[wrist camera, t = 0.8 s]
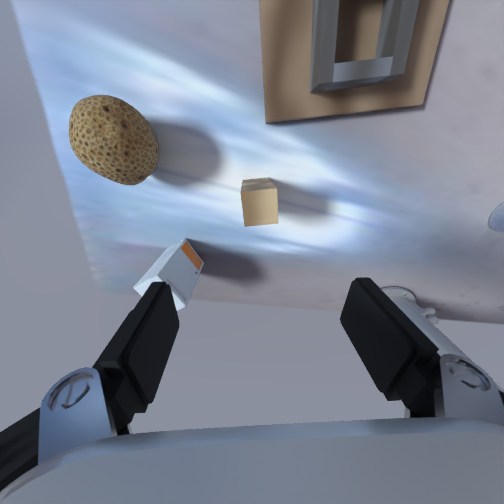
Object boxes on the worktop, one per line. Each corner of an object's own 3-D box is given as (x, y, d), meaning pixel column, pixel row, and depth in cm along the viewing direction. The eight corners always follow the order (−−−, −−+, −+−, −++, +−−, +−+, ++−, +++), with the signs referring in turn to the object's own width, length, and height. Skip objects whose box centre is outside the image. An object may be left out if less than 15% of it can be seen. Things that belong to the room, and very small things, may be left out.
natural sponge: (171, 186, 30) (138, 200, 21) (110, 171, 29) (49, 180, 20) (174, 117, 26) (135, 99, 17) (104, 97, 25) (23, 67, 16)
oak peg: (268, 177, 29) (277, 188, 21) (269, 203, 31) (278, 223, 22) (242, 180, 30) (240, 192, 21) (245, 205, 31) (244, 226, 23)
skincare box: (205, 262, 36) (187, 307, 26) (187, 271, 37) (163, 318, 27) (185, 236, 34) (157, 274, 23) (166, 247, 35) (131, 288, 24)
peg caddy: (454, -65, 19) (516, -130, 15) (413, 106, 26) (448, 97, 21) (257, -38, 20) (259, -93, 15) (265, 123, 26) (269, 117, 22)
